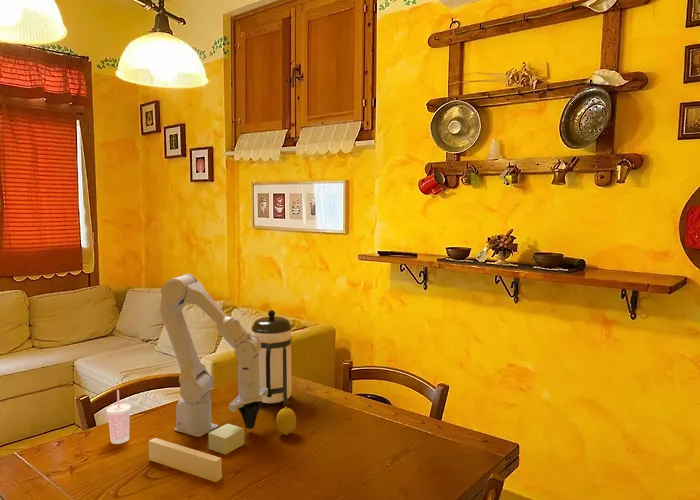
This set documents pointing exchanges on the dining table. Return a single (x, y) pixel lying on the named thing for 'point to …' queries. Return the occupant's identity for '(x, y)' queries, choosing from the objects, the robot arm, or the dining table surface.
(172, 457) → the board
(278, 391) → the coffee press
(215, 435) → the block
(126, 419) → the beverage cup
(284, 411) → the lemon
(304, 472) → the dining table surface
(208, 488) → the dining table surface
